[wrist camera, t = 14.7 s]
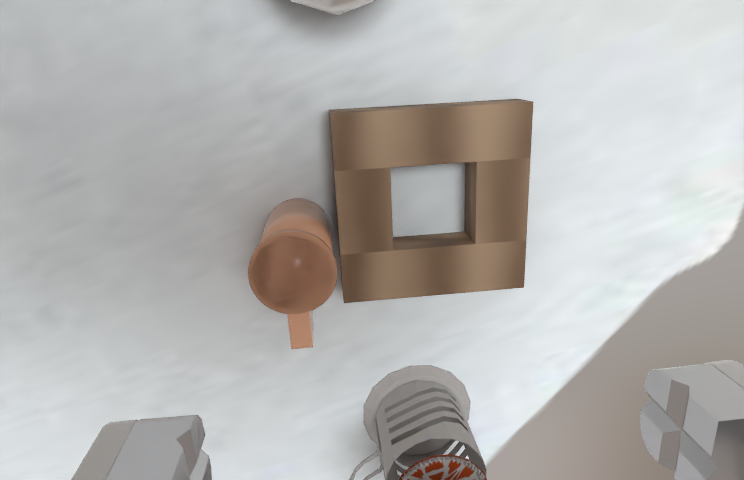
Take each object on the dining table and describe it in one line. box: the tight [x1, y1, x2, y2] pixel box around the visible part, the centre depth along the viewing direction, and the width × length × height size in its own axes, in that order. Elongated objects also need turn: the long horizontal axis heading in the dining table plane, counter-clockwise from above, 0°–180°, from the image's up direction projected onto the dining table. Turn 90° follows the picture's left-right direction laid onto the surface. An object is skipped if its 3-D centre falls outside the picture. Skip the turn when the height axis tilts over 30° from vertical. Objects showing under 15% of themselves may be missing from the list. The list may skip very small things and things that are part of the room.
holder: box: [329, 99, 533, 303], centre depth 39 cm, size 14×14×3 cm
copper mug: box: [248, 199, 337, 349], centre depth 37 cm, size 8×5×9 cm, turn 3°
